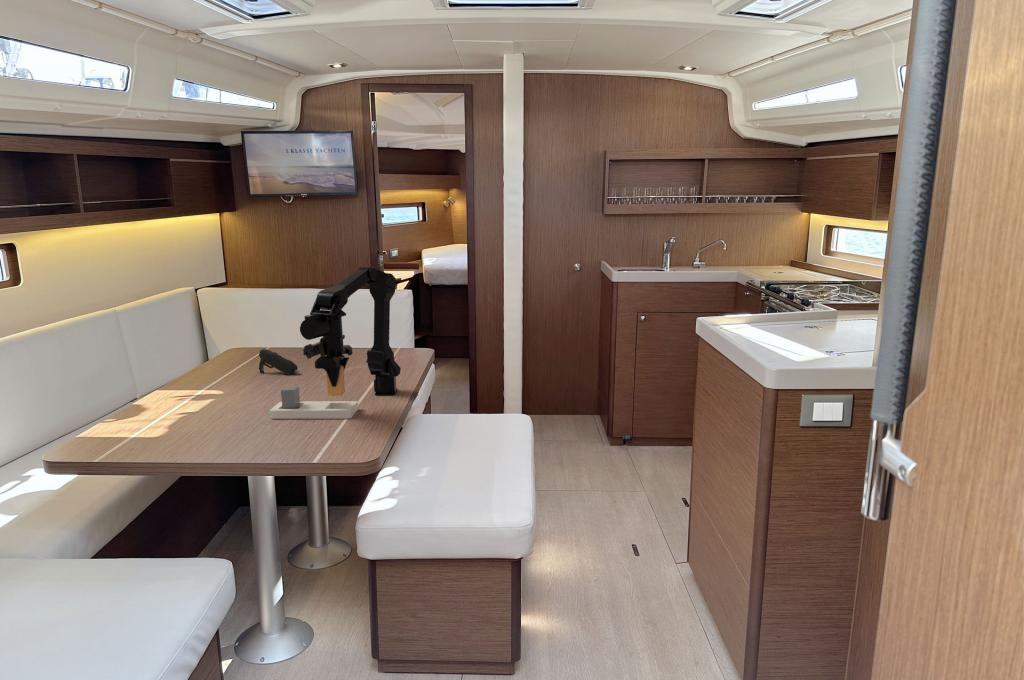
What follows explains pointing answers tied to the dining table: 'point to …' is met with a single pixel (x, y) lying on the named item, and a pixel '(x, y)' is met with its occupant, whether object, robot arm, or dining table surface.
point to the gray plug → (290, 397)
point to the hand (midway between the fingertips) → (336, 384)
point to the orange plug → (339, 387)
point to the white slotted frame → (316, 410)
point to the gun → (276, 362)
